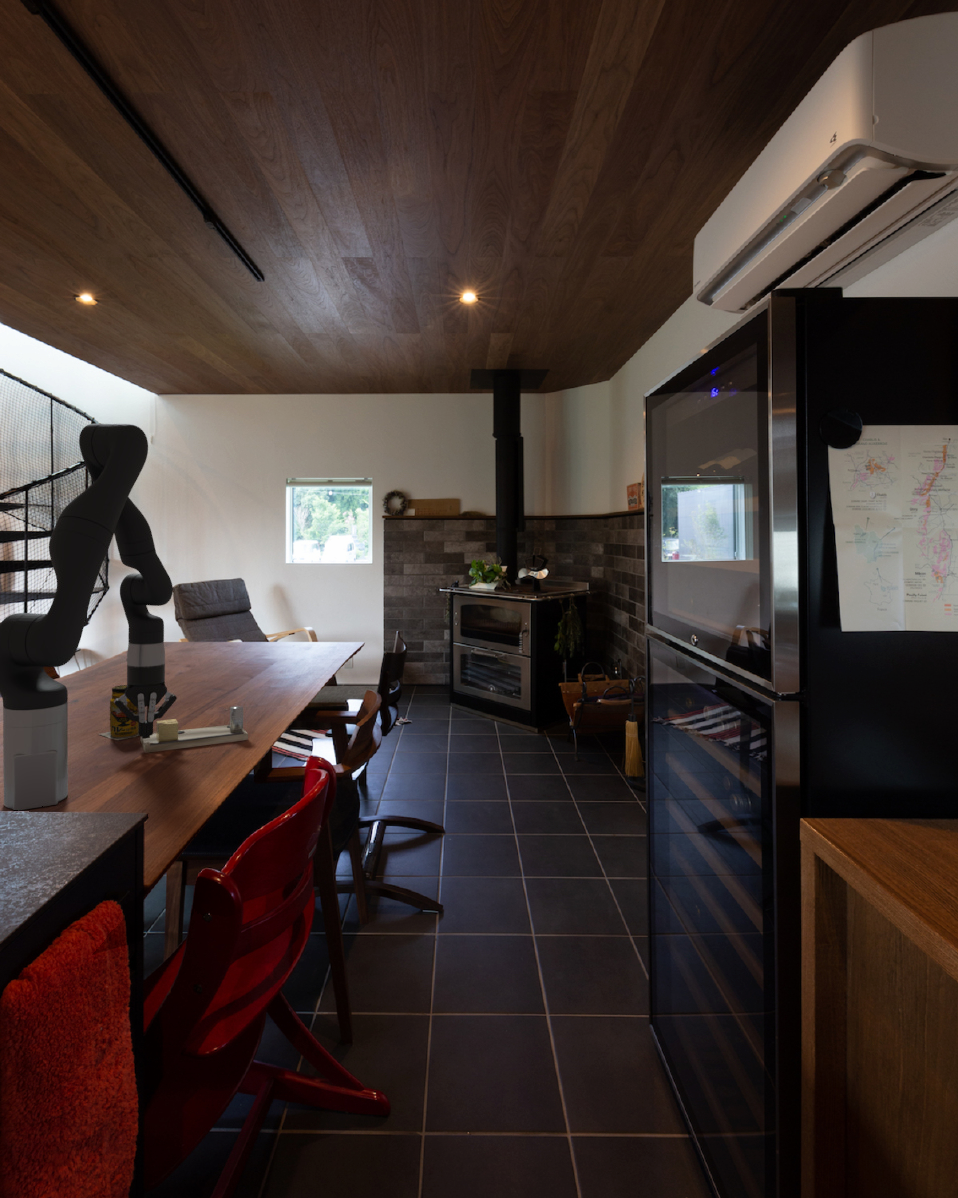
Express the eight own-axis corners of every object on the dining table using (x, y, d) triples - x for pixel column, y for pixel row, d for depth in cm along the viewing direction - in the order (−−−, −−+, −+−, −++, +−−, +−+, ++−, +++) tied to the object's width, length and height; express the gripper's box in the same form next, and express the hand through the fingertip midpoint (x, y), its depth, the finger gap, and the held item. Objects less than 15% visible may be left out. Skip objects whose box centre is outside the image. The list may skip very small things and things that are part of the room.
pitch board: (247, 739, 147) (247, 732, 147) (145, 752, 135) (145, 745, 135) (238, 729, 156) (238, 722, 156) (140, 741, 143) (140, 733, 143)
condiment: (118, 741, 143) (118, 690, 142) (97, 735, 147) (98, 686, 146) (147, 734, 149) (148, 686, 149) (127, 728, 153) (128, 681, 153)
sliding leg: (178, 740, 140) (178, 723, 139) (158, 742, 137) (158, 725, 137) (173, 732, 145) (173, 716, 145) (154, 734, 143) (154, 718, 143)
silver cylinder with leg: (244, 732, 148) (244, 708, 148) (231, 734, 147) (231, 709, 146) (237, 726, 154) (238, 702, 153) (225, 727, 152) (225, 703, 152)
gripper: (113, 666, 130) (113, 746, 131) (181, 663, 137) (180, 738, 139) (110, 661, 136) (110, 737, 137) (175, 658, 144) (175, 730, 145)
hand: (145, 737), depth 138 cm, fingers closed
